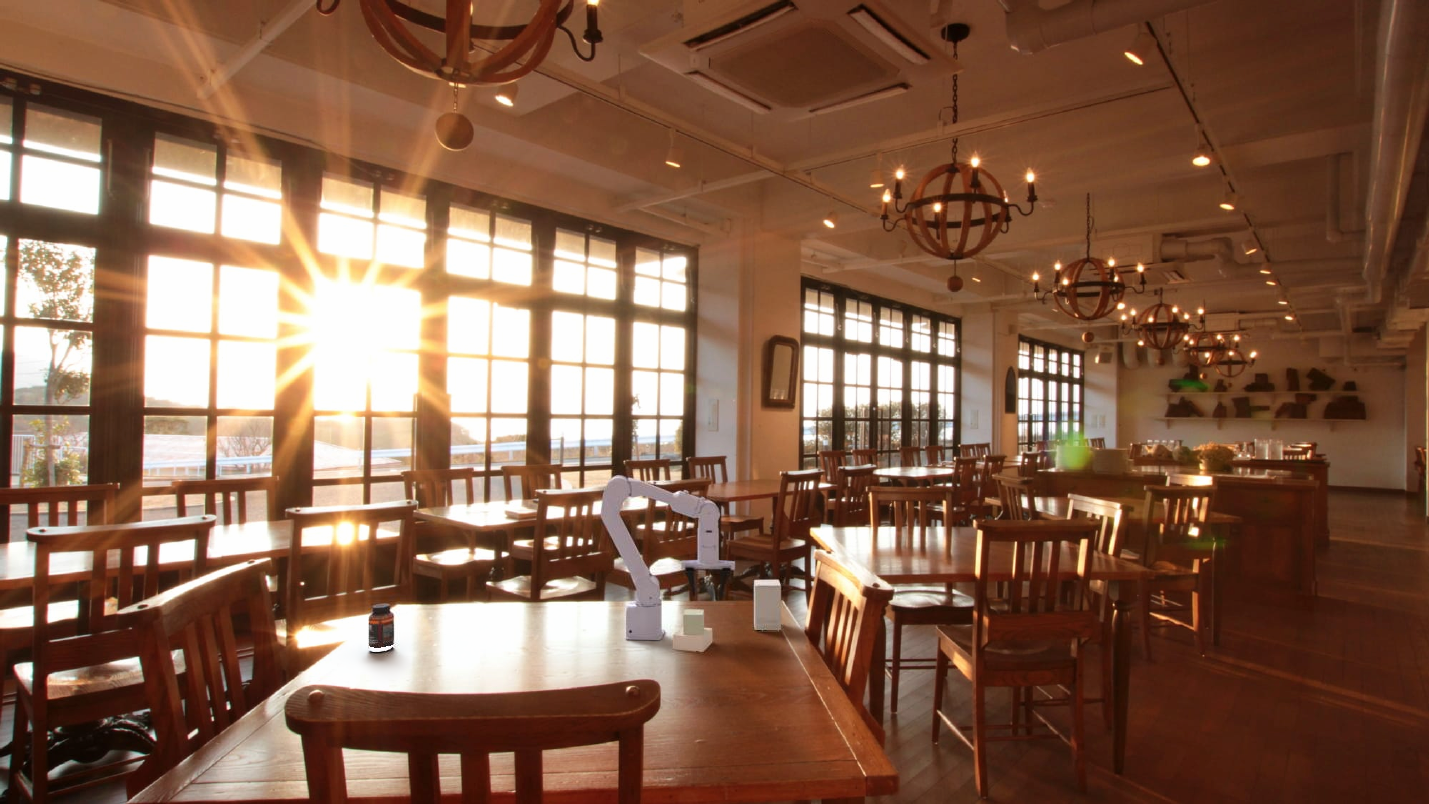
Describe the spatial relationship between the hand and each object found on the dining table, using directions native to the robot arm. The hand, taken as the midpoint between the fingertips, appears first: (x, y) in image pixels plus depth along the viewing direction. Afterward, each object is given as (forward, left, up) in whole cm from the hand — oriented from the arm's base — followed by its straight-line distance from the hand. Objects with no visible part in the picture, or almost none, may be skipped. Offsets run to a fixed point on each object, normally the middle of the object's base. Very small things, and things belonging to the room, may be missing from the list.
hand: (708, 595), depth 195 cm
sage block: (-3, -10, -7) cm, 12 cm away
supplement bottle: (-82, -19, -11) cm, 85 cm away
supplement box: (+16, +7, -11) cm, 20 cm away
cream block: (-3, -10, -11) cm, 15 cm away
